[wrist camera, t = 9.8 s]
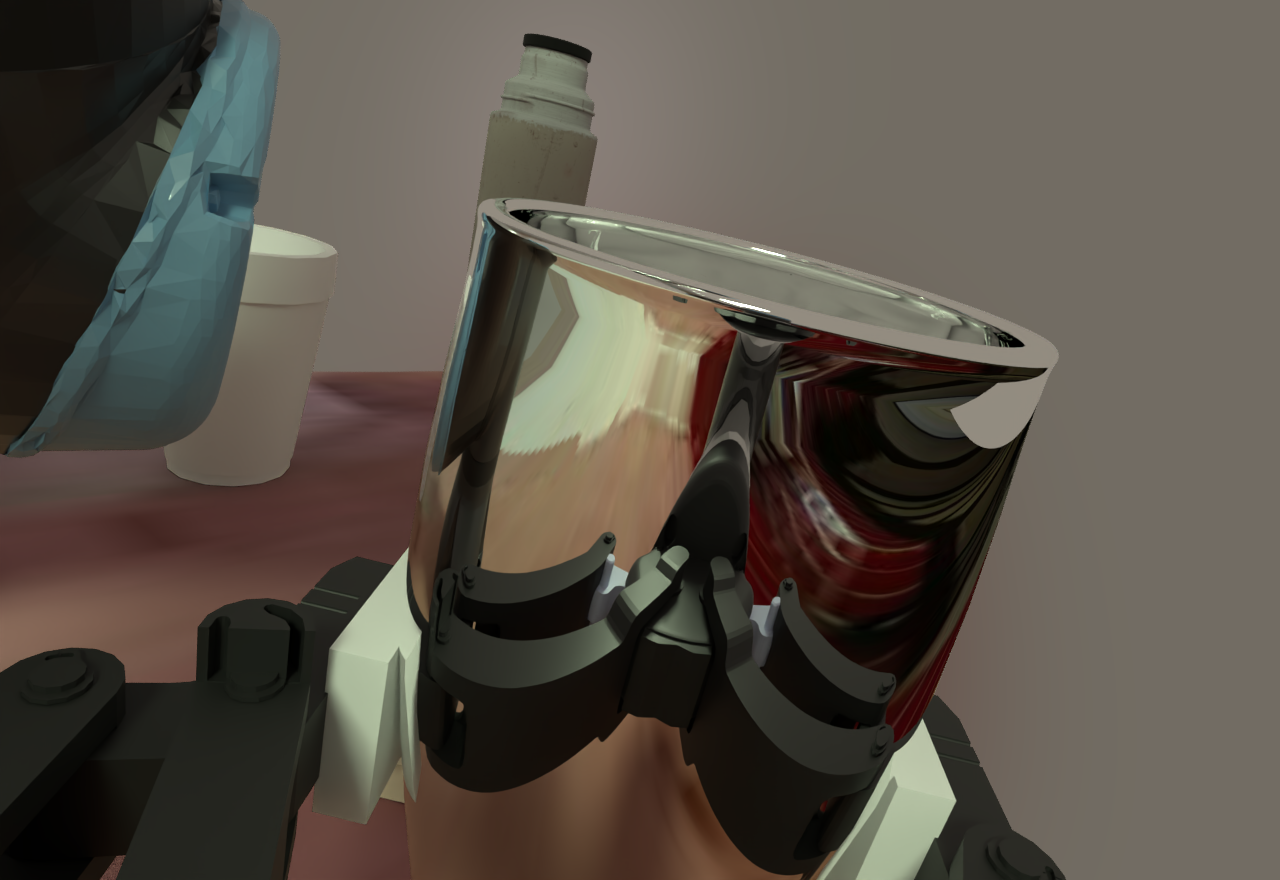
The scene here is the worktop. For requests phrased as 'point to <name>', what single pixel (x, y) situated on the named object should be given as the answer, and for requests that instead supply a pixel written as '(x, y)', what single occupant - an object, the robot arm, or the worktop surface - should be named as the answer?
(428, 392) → the worktop surface
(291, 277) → the foam cup
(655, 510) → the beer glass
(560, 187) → the thermos bottle
